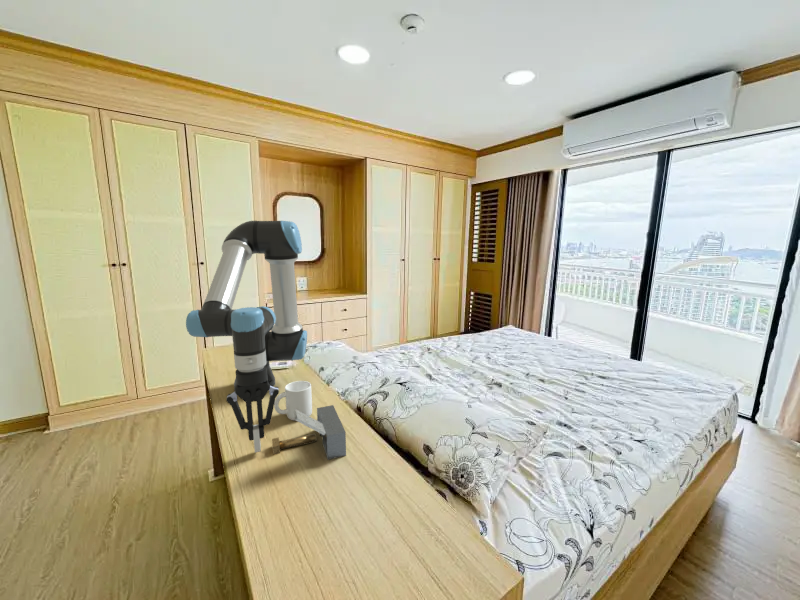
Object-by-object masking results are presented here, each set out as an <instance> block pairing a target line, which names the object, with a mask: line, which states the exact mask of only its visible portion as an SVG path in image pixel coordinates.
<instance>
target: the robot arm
mask: <svg viewBox="0 0 800 600" xmlns="http://www.w3.org/2000/svg"><path fill="white" fill-rule="evenodd" d="M301 238H302V236H301V234H300V230H299V228H298V226H297V224H296V223H295V222H293V221H290V220H289V221H288V220H249V221H246V222H242V223H240V224H239V225H237V226H236V227H234V228H233V229H232V230H231V231H230V232H229V233H228V234H227V236H226V237H225V239H224V240H223V242H222V245H221V252H222V255H221V257H220V260H219V262H218V266H217V267H216V271H215V273H214V275H213V279H212V281H211V284H210V285H209V286H210V287H209V289H208V292H207V294H206V296H205V299H204V302H203V304H202V306H201V309H195V310H194V309H193V310H191V311H190V312H189V313H188V314H187V316H186V317H185V318H186V319H185V327H186V328H185V329H186V330H187V333H188V334H189V335H190V337H197V338H210V337H211V338H212V337H213V338H215V337H232V345H233V346H232V347H233V356H234V357H233V359H234V368H235V369H236V370H235V379H234V382H233V388H234V389H233V390H234V391H233V392H232V393H228V394H227V395H226V399H225V400H226V402H227V403H228V404H229V405H230V407H231V408H232V411H233V413H234V416H235V419H236V422H237V424H238V426H239V428H240V430H241V431H242V430H247V432H248V440H249V441H250V442H251V441H253V448H254V453H259V452H261V447H262V446H261V439H264V438H265V426H268V425H270V424H271V421H272V416H273V411H274V402H275V399H276V398H277V396H278V395H279V393H280V390H279V387H278V386H275V385H276V377H275V374H274V373H273V371H272V368H271V365H270V362H281V361H282V362H284V361H287V362H288V361H291V362H293V361H299V360H302V359H304V357H305V354H306V350H307V344H308V331H307V330H304V329H303V325H302V324H301V323H300V322H299V315H298V300H297V288H296V287H297V286H296V285H297V284H296V273H295V272H296V271H295V262H296V261H297V260H298V259H299V257H298V255H299V254H302V251H303V248H302V246H303V245H302V239H301ZM254 254H259V255H260V254H263V255H264V260H265V261H266V262H268V264H269V270H270V271H269V272H270V281H271V293H272V303H273V309H271V308H270V307H268V306H263V305H262V306H255V307H253V306H251V307H249V306H247V307H241V308H234V309H233V306H234V304H235V303H234V302H235V300H236V296H237V293H238V290H239V287H240V283H241V281H242V277H243V274H244V271H245V268H246V264H247V262H248V261H249V260H250V259H251V258H252V256H253V255H254ZM267 393H269V399H268V404H267V410H266V413H265V418H264V411H263V401H262V400H263V399H264V398H265V396H266V395H267ZM238 398H240V399H241V400H242V401H243V402H245V408H246V418H245V417H244V415H243V412H242V409H241V407H240V405H239V402H238ZM253 402H256V409H257V410H256V411H257V413H256V414H257V420H258V421H257V424H254V418H253V406H252V405H253V404H252V403H253ZM245 419H247V420H245Z"/></svg>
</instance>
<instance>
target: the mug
mask: <svg viewBox="0 0 800 600" xmlns="http://www.w3.org/2000/svg"><path fill="white" fill-rule="evenodd" d="M312 393H313V392H312V384H311V382H309V381H307V380H296V381H295V380H294V381H292V382H290V383H287V384H286V385H285V386H284V392H281V393H280V394H278V395H277V397H276V398H275V402H274V407H273V409H275V412H276V413H277V414H279V415H286V416H287V418H288V419H289V420H291V421H296V419H295V414H294V410H295V409H296V410H298V411H300V412H302V413H304V414H306V415H307V416H309V417H311V415H312V413H313V398H312V397H313V396H312V395H313V394H312ZM283 398H285V408H286V409H281V408H280V406H279V403H280V401H281V399H283Z"/></svg>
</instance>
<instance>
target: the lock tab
mask: <svg viewBox="0 0 800 600" xmlns="http://www.w3.org/2000/svg"><path fill="white" fill-rule="evenodd" d="M294 414H295V419H296V420H295V421H296V422H298V423H300V424H302V425H304V426H305V427H307V428H310V429H311V430H313V431H316V432H318V434H319V433H321V434H323V435H325V433H326V432H325V429H324V427H323V424H322V423H320V422H319V421H317V420H316V419H315V418H313V417H311V416H307V415H306V414H304V413H302V412H300V411H298V410H296V409H295V410H294Z"/></svg>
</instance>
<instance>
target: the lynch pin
mask: <svg viewBox="0 0 800 600" xmlns="http://www.w3.org/2000/svg"><path fill="white" fill-rule="evenodd" d="M271 442H272V443H271V444H272V455H278V454H281V450H285V449H289V448H292V447H299V446H302V445H306V444H312V443H315V442H317V434H316V433H312V434H308V435H307V434H306V435H304V436H303V435H302V436H298V437H293V438H288V439H284V440H280V437H274V438H271Z"/></svg>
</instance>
